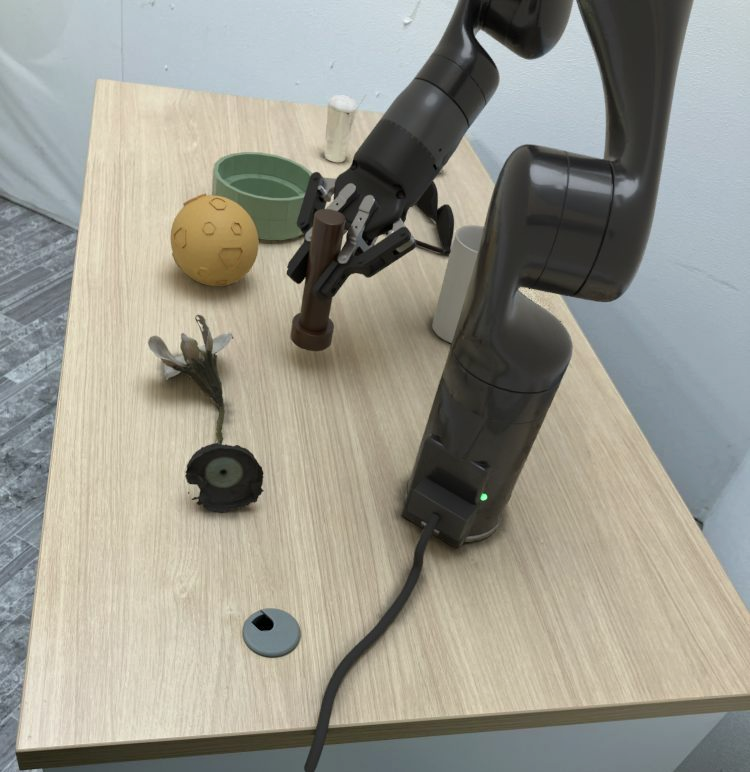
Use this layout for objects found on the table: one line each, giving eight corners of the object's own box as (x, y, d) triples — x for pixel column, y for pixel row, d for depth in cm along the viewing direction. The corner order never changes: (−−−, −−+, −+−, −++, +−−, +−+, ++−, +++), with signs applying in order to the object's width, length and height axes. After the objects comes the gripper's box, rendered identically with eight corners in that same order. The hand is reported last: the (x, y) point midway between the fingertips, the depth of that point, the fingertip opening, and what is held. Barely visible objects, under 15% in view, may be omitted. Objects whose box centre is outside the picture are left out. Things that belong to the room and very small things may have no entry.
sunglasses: (327, 192, 117) (332, 158, 113) (419, 197, 122) (427, 165, 118) (357, 253, 106) (364, 218, 103) (457, 256, 111) (467, 222, 107)
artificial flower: (169, 525, 70) (134, 433, 63) (172, 387, 87) (146, 302, 80) (271, 506, 70) (247, 411, 64) (255, 371, 87) (235, 286, 81)
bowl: (270, 255, 102) (274, 210, 97) (190, 213, 105) (191, 168, 101) (329, 224, 110) (336, 181, 106) (254, 186, 114) (258, 143, 110)
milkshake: (353, 167, 124) (365, 100, 117) (319, 161, 124) (329, 93, 117) (354, 155, 128) (366, 89, 121) (321, 149, 127) (330, 82, 120)
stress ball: (191, 249, 99) (194, 169, 92) (266, 273, 99) (275, 195, 92) (154, 286, 92) (154, 203, 85) (235, 313, 91) (241, 231, 84)
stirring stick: (315, 356, 84) (336, 233, 74) (281, 337, 85) (297, 214, 75) (339, 339, 87) (362, 219, 77) (306, 321, 88) (324, 200, 78)
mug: (486, 351, 96) (518, 260, 87) (431, 343, 95) (458, 250, 86) (478, 305, 103) (506, 217, 94) (426, 297, 102) (451, 207, 93)
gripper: (345, 91, 78) (239, 237, 79) (456, 152, 72) (340, 308, 74) (372, 137, 85) (274, 271, 86) (475, 196, 79) (368, 338, 81)
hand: (305, 287), depth 80 cm, fingers closed on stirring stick, 3 cm apart
